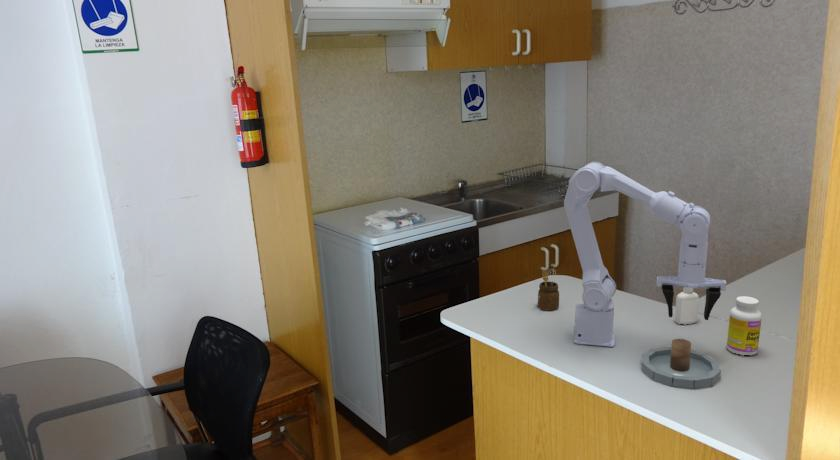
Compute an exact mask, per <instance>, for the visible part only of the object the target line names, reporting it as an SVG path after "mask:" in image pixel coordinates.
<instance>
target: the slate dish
mask: <svg viewBox="0 0 840 460" xmlns="http://www.w3.org/2000/svg"><path fill="white" fill-rule="evenodd" d="M670 360H671V346H661V347H654V348H651V349H650V348H649V350H647V351H645V352H644V353H642V354H641V360H640V361H641V362H640V365H641V372H642V373H644V374H645V375H646V376H647V377H648V378H650V380H652V381H654V382H658V383H660V384H663V385H665V386H669V387H672V388H679V389H687V390H688V389H690V390H696V389H701V388H708V387H709V388H710V387H713V386H714V385H715V384H716V383H717V382H719V381H720V380H721V373H722V371H721V367H720V365H719V364H720V363H719V362H718V361H717V360H715V359H714V358H713V357H711V356H710V355H708V354H706V353H704V352H702V351H701V352H700V351H697V350H693V349H691V354H690V367H689V370H688V371H684V372H681V371H676V370H673V369H672V368H671V367H670ZM719 379H720V380H719ZM713 384H714V385H713Z"/></svg>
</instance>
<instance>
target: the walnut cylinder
mask: <svg viewBox="0 0 840 460" xmlns="http://www.w3.org/2000/svg"><path fill="white" fill-rule="evenodd" d="M670 347H671V360H670V367H671V368H672V369H673V370H676V371H681V372H684V371H688V370H689V367H690V354H691V350H692V342H691V341H689V340H688V339H684V338H674V339H672V340H671V346H670Z"/></svg>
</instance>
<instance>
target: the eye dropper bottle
mask: <svg viewBox="0 0 840 460" xmlns="http://www.w3.org/2000/svg"><path fill="white" fill-rule="evenodd" d="M675 299H676V300H675V309H674V310H675V311H674V322H675V323H676V324H678V325H680V324H683V325H684V326H688V325H687V324H689V325H693V323H694V324H695V323H697V322H698V315H699V303H700V302H699V300H700V296H699V295H698V293H696V292H694V288H687V287H682V292H679V293H678V294H677V295H676V298H675ZM683 325H682V326H683Z"/></svg>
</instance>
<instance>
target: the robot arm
mask: <svg viewBox="0 0 840 460" xmlns="http://www.w3.org/2000/svg"><path fill="white" fill-rule="evenodd" d="M599 189H600V192H610V191H611V192H612V191H617V192H619V193H621V194H623V195H625V196H627V197H630V198H631V199H633V200H635V201H638V202H640V203H642V204H644V205H646V206H647V207H648V210H649V212H650V214H651V215H654V216H656V217H657V218H660V219H661V220H663V221H665V222H667V223H669V224H671V225H673V226H675V227H679V228H680V231H681V240H680V242H679V256H678V267H677V268H678V269H677V275H664V276H663V275H657V276H656V287H659V288H661V290H662V294H663V296H664V299H665V301H666V305H667V309H668V310H667V311H668V312H667V313H668V317H669V318H673V316H674V315H673V314H674V313H673V311H674V310H673V307H674V306H673V304H674V296H675V291H674V287H676V288H683V287H687V288H693V289H705V304H704V310H703V317H704V318H703V319H704V320H705V321H709V319H710V315H711V313H712V310H713V308H714V306H715V305H716V303H717V301H718V300H719V299H720V297H721V295H722V292H721V291H724V292H726V291H727V280H725V279H716V278H711V277H706V269H707V261H708V260H707V258H708V247H709V243H708V239H709V234H708V233H709V229H710V224H711V215H710V213H709V211H707V209H705V208H704V207H703V206H700V205H695V203H693V202H690V203H688V202H687V201H684V200H682V199H681V198H678V197H677V196H675V192H673V191H671V190H669V191H668V192H667V191H664V190H663V191H658V192H655V191H653V190H651V189H649V188H648V187H646V186H644V185H642V184H641V183H639V182H637V181H635V180H634V179H632V178H630V177H628V176H626V175H625V174H623V173H621V172H620V171H618V170H616V169H614V168H613V167H611V166H607V165H606V166H605V165H604V164H602V163H601V162H598V161H591V162H588V163H586V164H585V165H584V166H583V167H581V168H579V169H577V170H576V171H575V172H574V174H573V175H572V176H571V177H570V179H569V180H568V186H567V190H566V194H565V197H564V201H563V206H564V210H565V213H566V216H567V221H568V223H569V228H570V231H571V235H572V237H573V238H572V239H573V241H574V244H575V245H574V246H575V248H576V249H575V250H576V251H577V252H576V253H577V256H578V259H579V264H580V266H581V269H582V278H581V280H582V281H581V284H582V288H583V291H582V296H581V297H582V302H583V303H580V304H576V305H575V314H574V325H573V333H574V336H573V337H574V339H573V343H574V344H577V345H578V344H579V345H586V346H587V345H588V346H589V345H590V346H597V347H598V346H600V347H612V348H613V347H615V333H614V321H615V320H614V317H615V313H614V312H615V303H614V301H613V299H612V298H613V297H614V296H615V294H616V291H617V283H616V282H615V280H614V279H613V278H612V277H611V275H610V274H609V271H608V269H607V268H606V267H605V265H604V262H603V259H602V255H601V252H600V248H599V244H598V241H597V237H596V232H595V230H594V226H593V223H592V218H591V216H590V215H591V214H590V213H589V212H590V211H589V208H588V202H589V201H590V200H591V198H592V197H593V195H594V193H595V192H596V191H597V190H599Z"/></svg>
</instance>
